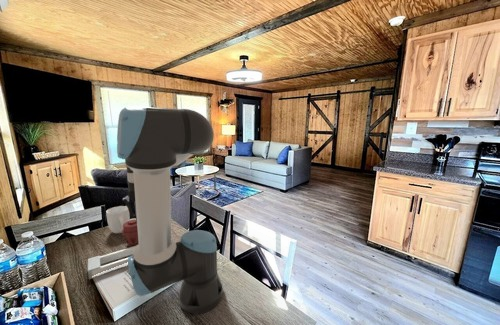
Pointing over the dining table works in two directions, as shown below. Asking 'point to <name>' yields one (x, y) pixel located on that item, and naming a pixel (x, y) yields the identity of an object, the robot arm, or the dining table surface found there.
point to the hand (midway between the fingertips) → (142, 230)
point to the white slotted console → (98, 260)
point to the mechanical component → (130, 232)
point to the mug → (117, 218)
